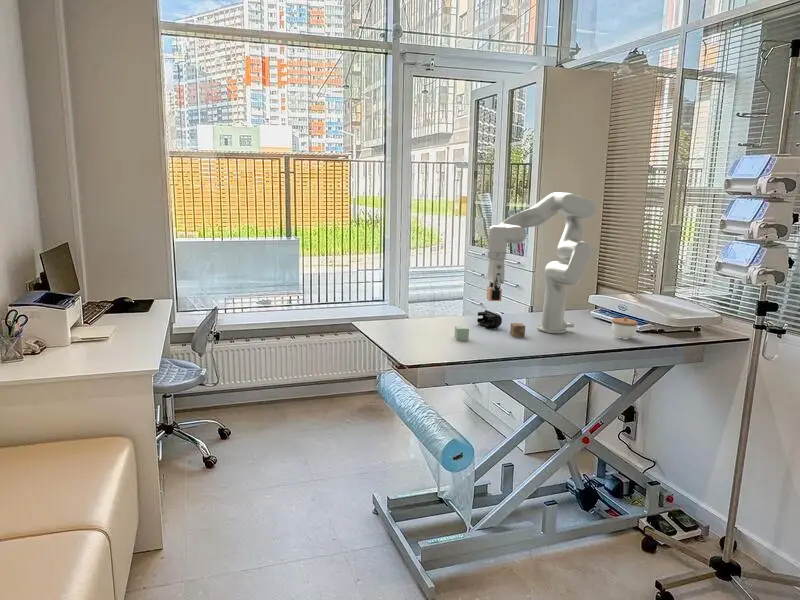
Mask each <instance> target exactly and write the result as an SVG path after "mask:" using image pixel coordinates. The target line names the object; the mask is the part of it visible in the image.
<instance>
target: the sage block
mask: <svg viewBox="0 0 800 600" xmlns="http://www.w3.org/2000/svg"><path fill="white" fill-rule="evenodd" d="M469 337H470V328H469V326H467V325H455V326H454V338H456V339H455V340H456V341H469V339H470V338H469Z"/></svg>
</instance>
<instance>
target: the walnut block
mask: <svg viewBox="0 0 800 600" xmlns="http://www.w3.org/2000/svg"><path fill="white" fill-rule="evenodd" d="M509 334H510V335H511V336H512V337H514V338H525V335H526V325H525V324H524V323H521V322H511V323H510V331H509Z"/></svg>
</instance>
